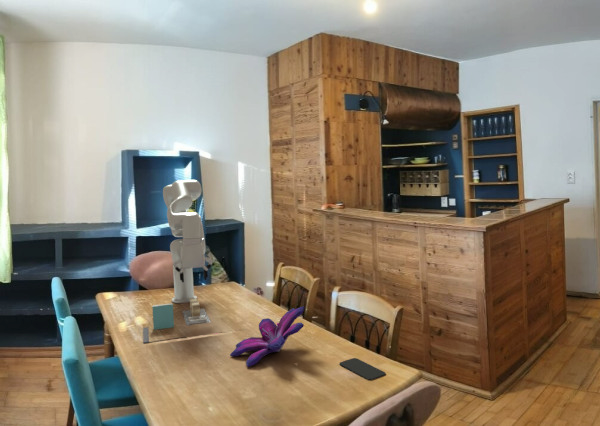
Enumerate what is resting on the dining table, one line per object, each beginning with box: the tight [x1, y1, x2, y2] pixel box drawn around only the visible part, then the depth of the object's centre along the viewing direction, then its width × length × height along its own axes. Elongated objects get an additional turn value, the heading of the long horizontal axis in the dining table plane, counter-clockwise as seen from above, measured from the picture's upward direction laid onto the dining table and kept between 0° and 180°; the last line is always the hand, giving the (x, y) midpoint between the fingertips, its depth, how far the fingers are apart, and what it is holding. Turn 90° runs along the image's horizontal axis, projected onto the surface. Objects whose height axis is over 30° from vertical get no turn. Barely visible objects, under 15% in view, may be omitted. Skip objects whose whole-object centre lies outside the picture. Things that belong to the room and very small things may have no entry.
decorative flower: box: [229, 305, 305, 368], centre depth 157 cm, size 31×31×10 cm
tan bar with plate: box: [188, 297, 207, 325], centre depth 197 cm, size 18×7×6 cm, turn 19°
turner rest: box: [181, 308, 211, 326], centre depth 199 cm, size 22×10×1 cm, turn 19°
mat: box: [142, 327, 186, 344], centre depth 181 cm, size 18×16×1 cm
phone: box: [339, 357, 387, 381], centre depth 141 cm, size 7×1×15 cm
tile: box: [151, 302, 175, 330], centre depth 184 cm, size 2×8×10 cm, turn 109°
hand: (194, 280), depth 197 cm, fingers open, 9 cm apart
